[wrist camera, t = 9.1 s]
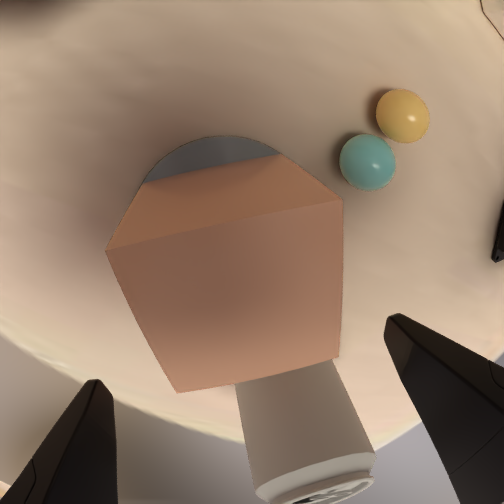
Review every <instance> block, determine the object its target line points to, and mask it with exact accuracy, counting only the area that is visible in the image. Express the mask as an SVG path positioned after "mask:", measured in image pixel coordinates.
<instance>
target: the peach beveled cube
mask: <svg viewBox="0 0 504 504" xmlns="http://www.w3.org/2000/svg"><path fill="white" fill-rule="evenodd" d="M105 252H106V254H107V257H108V259H109V262H110V264H111V266H112V269H113V271H114V273H115V276H116V278H117V280H118V282H119V285H120V287H121V289H122V291H123V294H124V296H125V298H126V300H127V302H128V304H129V306H130V308H131V310H132V313H133V315H134V317H135V319H136V321H137V323H138V325H139V327H140V329H141V331H142V332H143V334H144V336H145V338H146V340H147V342H148V344H149V346H150V348H151V349H152V351H153V353H154V355H155V357H156V359H157V360H158V362H159V364H160V366H161V367H162V369H163V371H164V373H165V374H166V376H167V378H168V380H169V381H170V383H171V385H172V386H173V388H174V390H175V391H176V393H182V392H189V391H195V390H202V389H208V388H213V387H219V386H224V385H229V384H235V383H240V382H244V381H249V380H254V379H258V378H263V377H267V376H271V375H275V374H279V373H283V372H287V371H291V370H295V369H299V368H303V367H306V366H310V365H313V364H317V363H320V362H324V361H327V360H330V359H334V358H337V357H339V345H340V330H341V313H342V288H343V201H342V199H341V198H340V197H339V196H338V195H336V194H335V193H334V192H332V191H331V190H330V189H329V188H327V187H326V186H325V185H323V184H322V183H321V182H319V181H318V180H317V179H315V178H314V177H313V176H311V175H310V174H309V173H307V172H306V171H305V170H303V169H302V168H301V167H299V166H298V165H296V164H295V163H294V162H292V161H291V160H289V159H288V158H287V157H285V156H284V155H282V154H278V155H271V156H266V157H260V158H254V159H249V160H243V161H238V162H233V163H228V164H223V165H218V166H213V167H208V168H204V169H199V170H195V171H190V172H186V173H182V174H178V175H173V176H169V177H165V178H161V179H157V180H154V181H150V182H146V183H143V184H142V186H141V187H140V189H139V191H138V192H137V194H136V196H135V197H134V199H133V201H132V202H131V204H130V206H129V208H128V209H127V211H126V213H125V215H124V216H123V218H122V220H121V222H120V223H119V225H118V227H117V229H116V231H115V233H114V234H113V236H112V238H111V240H110V242H109V244H108V246H107V248H106V250H105Z"/></svg>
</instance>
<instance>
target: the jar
mask: <svg viewBox="0 0 504 504" xmlns="http://www.w3.org/2000/svg"><path fill="white" fill-rule="evenodd" d="M481 2H482V7H483V12H484V14H485V15H486V16H487V17H488V19H489V20H490V21H491V22H492V24H493V25H494V26H495V28H496V29H497V30H498V32H499V33H500V34H501V36H502V37H503V39H504V0H481Z"/></svg>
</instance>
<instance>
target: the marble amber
mask: <svg viewBox="0 0 504 504" xmlns="http://www.w3.org/2000/svg"><path fill="white" fill-rule="evenodd" d="M376 119H377V122H378V125H379V127H380V129H381V130H382V132H383V133H384V134H385V135H386V136H387V137H389V138H390V139H392V140H393V141H396V142H399V143H413V142H416V141H418V140H419V139H421V138H422V137H423V136H424V135H425V134H426V132H427V130H428V127H429V123H430V116H429V111H428V108H427V106H426V104H425V103H424V101H423V100H422V99H421V98H420V97H419V96H418V95H416V94H415V93H413V92H411V91H409V90H405V89H395V90H391V91H389V92H387V93H386V94H384V95H383V96H382V97H381V99H380V100H379V102H378V104H377V108H376Z"/></svg>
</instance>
